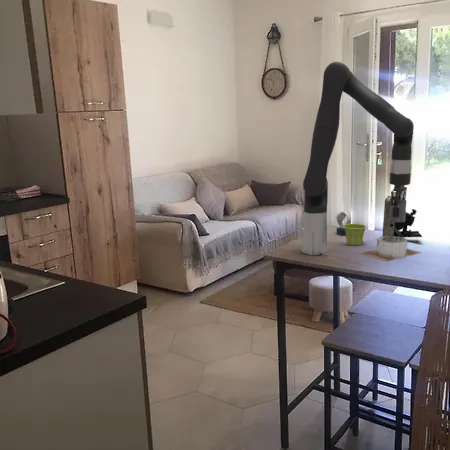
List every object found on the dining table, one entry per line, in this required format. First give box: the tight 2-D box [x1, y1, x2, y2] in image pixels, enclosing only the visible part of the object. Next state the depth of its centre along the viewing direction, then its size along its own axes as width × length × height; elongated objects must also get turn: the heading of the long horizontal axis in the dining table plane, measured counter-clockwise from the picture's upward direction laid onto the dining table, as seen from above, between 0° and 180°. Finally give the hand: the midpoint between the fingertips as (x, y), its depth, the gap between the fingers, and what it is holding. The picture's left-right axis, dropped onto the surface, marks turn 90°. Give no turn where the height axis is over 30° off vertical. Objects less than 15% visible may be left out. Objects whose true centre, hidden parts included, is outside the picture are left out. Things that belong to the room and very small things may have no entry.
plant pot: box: [343, 223, 367, 246], centre depth 213 cm, size 9×9×9 cm
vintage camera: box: [381, 195, 423, 243], centre depth 215 cm, size 10×16×20 cm, turn 79°
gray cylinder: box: [390, 199, 407, 222], centre depth 191 cm, size 6×6×8 cm
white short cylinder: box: [376, 236, 408, 259], centre depth 195 cm, size 11×11×6 cm
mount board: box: [358, 248, 423, 262], centre depth 198 cm, size 20×14×1 cm
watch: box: [335, 210, 352, 237], centre depth 234 cm, size 6×8×11 cm
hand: (397, 215), depth 191 cm, fingers closed on gray cylinder, 5 cm apart
